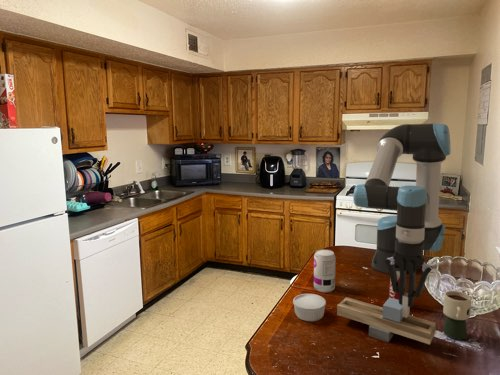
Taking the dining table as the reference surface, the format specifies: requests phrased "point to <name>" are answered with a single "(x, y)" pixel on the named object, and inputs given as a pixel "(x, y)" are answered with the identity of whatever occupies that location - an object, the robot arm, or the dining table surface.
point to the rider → (392, 310)
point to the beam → (386, 322)
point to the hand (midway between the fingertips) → (405, 315)
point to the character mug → (456, 313)
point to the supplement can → (324, 271)
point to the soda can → (392, 293)
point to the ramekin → (309, 307)
